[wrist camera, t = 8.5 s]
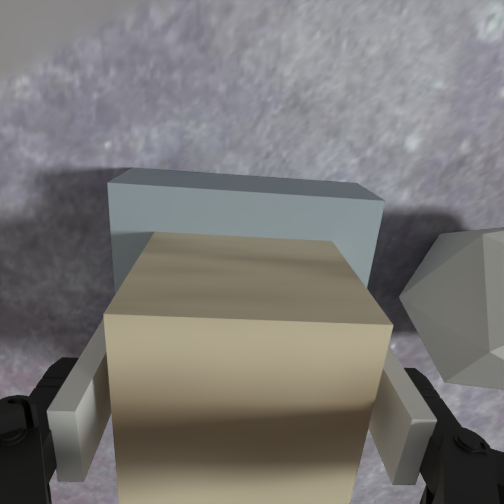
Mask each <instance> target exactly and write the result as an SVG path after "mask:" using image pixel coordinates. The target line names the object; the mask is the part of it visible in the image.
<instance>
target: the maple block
mask: <svg viewBox="0 0 504 504" xmlns="http://www.w3.org/2000/svg"><path fill="white" fill-rule="evenodd" d="M103 316H104V328H105V340H106V352H107V364H108V376H109V388H110V400H111V412H112V424H113V436H114V448H115V460H116V472H117V484H118V496H119V504H350V500H351V496H352V492H353V488H354V484H355V480H356V476H357V472H358V468H359V464H360V460H361V455H362V451H363V447H364V443H365V439H366V435H367V431H368V427H369V423H370V419H371V415H372V411H373V407H374V402H375V398H376V394H377V390H378V386H379V382H380V378H381V374H382V370H383V366H384V362H385V358H386V354H387V350H388V345H389V341H390V337H391V333H392V329H393V324H392V322H391V321H390V320H389V318H388V317H387V316H386V314H385V313H384V311H383V310H382V309H381V307H380V306H379V305H378V303H377V302H376V300H375V299H374V298H373V296H372V295H371V294H370V292H369V291H368V289H367V288H366V287H365V285H364V284H363V283H362V281H361V280H360V279H359V277H358V276H357V274H356V273H355V272H354V270H353V269H352V268H351V266H350V265H349V263H348V262H347V261H346V259H345V258H344V257H343V255H342V254H341V252H340V251H339V250H338V248H337V247H336V246H335V244H334V243H333V241H321V240H302V239H284V238H265V237H246V236H228V235H209V234H190V233H172V232H154V234H153V235H152V237H151V239H150V240H149V242H148V243H147V245H146V247H145V248H144V250H143V251H142V253H141V255H140V256H139V258H138V259H137V261H136V263H135V264H134V266H133V267H132V269H131V271H130V272H129V274H128V275H127V277H126V279H125V280H124V282H123V283H122V285H121V287H120V288H119V290H118V291H117V293H116V295H115V296H114V298H113V299H112V301H111V303H110V304H109V306H108V307H107V309H106V311H105V312H104V314H103Z"/></svg>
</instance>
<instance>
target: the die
mask: <svg viewBox="0 0 504 504" xmlns="http://www.w3.org/2000/svg"><path fill="white" fill-rule="evenodd" d="M399 299H400V301H401V302H402V304H403V306H404V308H405V310H406V312H407V314H408V315H409V317H410V319H411V321H412V323H413V325H414V327H415V328H416V330H417V332H418V334H419V336H420V338H421V340H422V341H423V343H424V345H425V347H426V349H427V351H428V353H429V354H430V356H431V358H432V360H433V362H434V364H435V366H436V367H437V369H438V371H439V373H440V375H441V377H442V379H443V381H444V382H445V383H452V384H460V385H468V386H476V387H484V388H492V389H501V390H504V227H502V228H492V229H482V230H472V231H461V232H451V233H441V234H439V236H438V238H437V239H436V241H435V242H434V244H433V245H432V247H431V248H430V250H429V251H428V253H427V254H426V256H425V257H424V259H423V261H422V262H421V264H420V265H419V267H418V268H417V270H416V271H415V273H414V274H413V276H412V277H411V279H410V280H409V282H408V283H407V285H406V287H405V288H404V290H403V291H402V293H401V294H400V296H399Z"/></svg>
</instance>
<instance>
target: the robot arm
mask: <svg viewBox="0 0 504 504" xmlns="http://www.w3.org/2000/svg"><path fill="white" fill-rule="evenodd" d="M110 415H111V400H110V388H109V376H108V364H107V352H106V340H105V328H104V318H103V320H102V321H101V323H100V325H99V326H98V328H97V330H96V331H95V333H94V334H93V336H92V338H91V339H90V341H89V343H88V344H87V346H86V348H85V349H84V351H83V352H82V354H81V356H80V357H79V358H66V357H62V358H61V359H59V360H58V361H57V362H55V363H54V364H53V365H51V366H50V367H49V369H48V370H47V371H46V373H45V374H44V376H43V378H42V379H41V380H40V381H39V383H38V384H37V386H36V388H34V390H33V391H32V393H31V394H30V396H29V397H28V396H24V395H15V396H9V397H5V398H3V399H0V504H52V501H51V492H50V486H49V481H50V479H51V477H52V475H53V473H54V471H55V469H56V472H57V479H58V481H70V482H84V480H85V478H86V475H87V473H88V470H89V468H90V465H91V463H92V460H93V458H94V455H95V453H96V450H97V448H98V445H99V443H100V440H101V438H102V435H103V432H104V430H105V427H106V425H107V422H108V420H109V417H110ZM368 428H369V430H370V432H371V435H372V437H373V440H374V442H375V444H376V447H377V449H378V452H379V454H380V456H381V459H382V461H383V464H384V466H385V468H386V471H387V473H388V475H389V478H390V480H391V483H392V485H415V484H416V481H417V478H418V476H419V473H421V475H422V477H423V479H424V481H425V483H426V487H425V490H424V492H423V495H422V498H421V501H420V504H504V452H501V451H497V450H494V449H491V448H490V446H489V445H488V444H487V442H486V441H485V440H484V439H483V438H482V437H480V436H479V435H478V434H476V433H475V432H473V431H471V430H469V429H467V428H463V427H461V425H460V424H459V422H458V421H457V420H456V418H455V417H454V415H453V414H452V413H451V411H450V410H449V408H448V407H447V405H446V404H445V403H444V401H443V400H442V398H440V396H439V394H438V393H437V391H436V390H434V387H433V386H432V384H431V383H430V382H429V380H428V379H427V377H425V376H424V375H423V374H422V373H420V372H419V371H418V370H417V369H415V368H403V366H402V365H401V363H400V362H399V360H398V359H397V357H396V356H395V354H394V353H393V351H392V350H391V348H390V346H389V345H388V350H387V354H386V358H385V362H384V366H383V370H382V374H381V378H380V382H379V386H378V390H377V394H376V398H375V402H374V407H373V411H372V415H371V419H370V423H369V427H368Z"/></svg>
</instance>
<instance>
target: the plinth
mask: <svg viewBox="0 0 504 504" xmlns="http://www.w3.org/2000/svg"><path fill="white" fill-rule="evenodd" d="M107 186H108V201H109V217H110V232H111V248H112V263H113V278H114V294H115V295H116V293H117V291H118V290H119V288H120V287H121V285H122V283H123V282H124V280H125V279H126V277H127V275H128V274H129V272H130V271H131V269H132V267H133V266H134V264H135V263H136V261H137V259H138V258H139V256H140V255H141V253H142V251H143V250H144V248H145V247H146V245H147V243H148V242H149V240H150V239H151V237H152V235H153V234H154V232H172V233H190V234H209V235H228V236H246V237H265V238H284V239H302V240H321V241H333V243H334V244H335V246H336V247H337V248H338V250H339V251H340V252H341V254H342V255H343V257H344V258H345V259H346V261H347V262H348V263H349V265H350V266H351V268H352V269H353V270H354V272H355V273H356V274H357V276H358V277H359V279H360V280H361V281H362V283H363V284H364V285H365V287H366V288H367V285H368V281H369V276H370V271H371V266H372V262H373V257H374V252H375V247H376V243H377V238H378V233H379V229H380V224H381V219H382V214H383V210H384V205H385V200H383V199H382V198H380V197H378V196H377V195H375V194H374V193H372V192H370V191H369V190H367V189H366V188H364V187H362V186H361V185H359V184H358V183H346V182H331V181H317V180H302V179H288V178H273V177H259V176H244V175H230V174H215V173H201V172H186V171H172V170H157V169H143V168H130V169H129V170H127V171H125V172H124V173H122V174H121V175H119V176H117V177H116V178H114V179H112V180H111V181H109V182H107Z"/></svg>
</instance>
